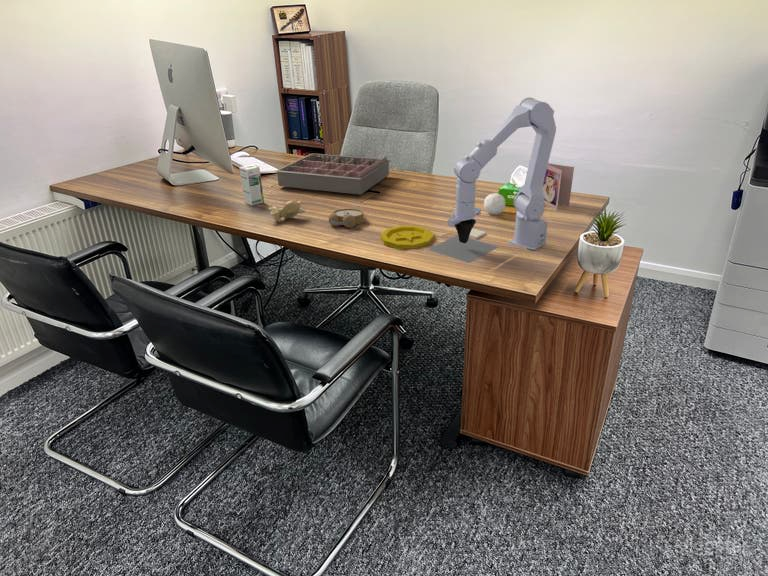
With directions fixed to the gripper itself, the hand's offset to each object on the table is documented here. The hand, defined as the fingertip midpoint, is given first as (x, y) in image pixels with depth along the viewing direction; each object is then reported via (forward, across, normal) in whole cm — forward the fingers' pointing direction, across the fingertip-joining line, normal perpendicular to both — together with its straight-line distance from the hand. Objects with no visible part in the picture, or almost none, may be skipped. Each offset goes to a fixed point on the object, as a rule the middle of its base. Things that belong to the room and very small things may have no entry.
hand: (463, 242), depth 175 cm
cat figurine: (+3, +19, -65) cm, 68 cm away
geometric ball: (+3, -34, -11) cm, 36 cm away
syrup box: (+3, +15, -91) cm, 92 cm away
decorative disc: (+3, +5, -19) cm, 20 cm away
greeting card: (+3, -57, +1) cm, 57 cm away
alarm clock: (+3, +7, -46) cm, 47 cm away
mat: (+2, 0, 0) cm, 2 cm away
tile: (+2, -9, -5) cm, 10 cm away
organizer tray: (+3, -24, -86) cm, 89 cm away
